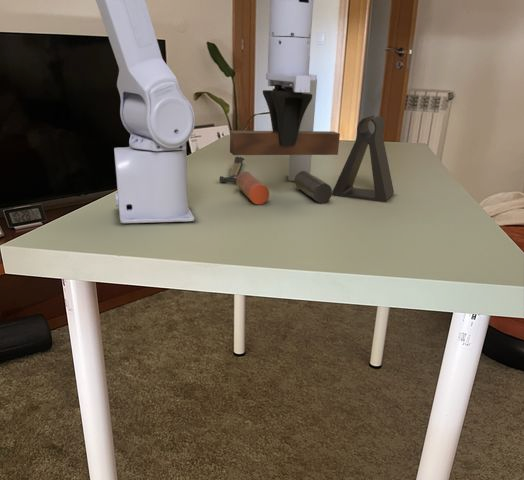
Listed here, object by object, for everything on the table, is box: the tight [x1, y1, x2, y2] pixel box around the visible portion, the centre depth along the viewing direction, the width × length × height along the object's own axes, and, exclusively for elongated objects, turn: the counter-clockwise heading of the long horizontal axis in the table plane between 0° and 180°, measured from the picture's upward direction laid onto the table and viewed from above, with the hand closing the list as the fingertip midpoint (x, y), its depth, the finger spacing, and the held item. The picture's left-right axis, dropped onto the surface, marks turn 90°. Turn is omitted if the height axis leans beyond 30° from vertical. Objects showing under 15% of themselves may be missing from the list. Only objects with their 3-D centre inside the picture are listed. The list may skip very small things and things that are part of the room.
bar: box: [229, 130, 341, 156], centre depth 82 cm, size 16×2×3 cm, turn 104°
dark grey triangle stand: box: [332, 115, 395, 203], centre depth 89 cm, size 9×6×12 cm, turn 66°
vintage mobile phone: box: [288, 58, 318, 183], centre depth 96 cm, size 4×5×25 cm
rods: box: [235, 171, 333, 206], centre depth 88 cm, size 13×10×3 cm
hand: (284, 143), depth 82 cm, fingers closed on bar, 2 cm apart
